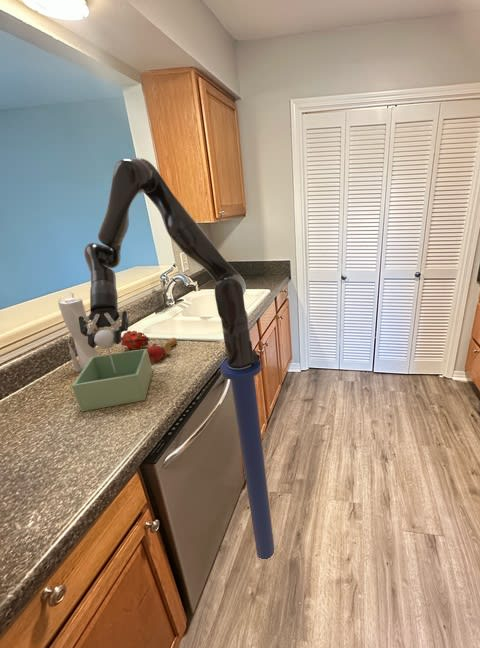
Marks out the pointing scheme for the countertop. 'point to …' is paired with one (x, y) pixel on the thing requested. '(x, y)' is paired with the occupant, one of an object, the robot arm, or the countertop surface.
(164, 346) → the kendama
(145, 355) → the bin
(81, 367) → the skyscraper
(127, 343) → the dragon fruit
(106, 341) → the lollipop
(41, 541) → the countertop surface
